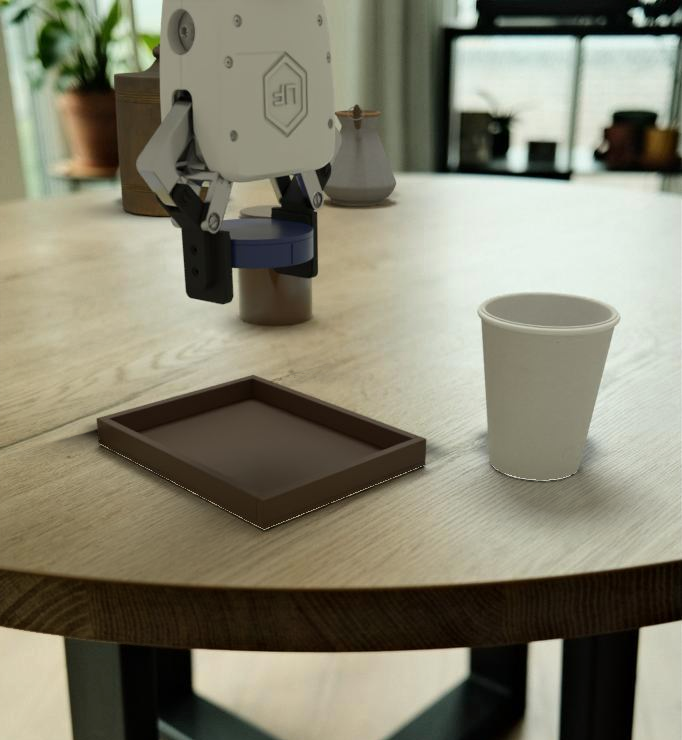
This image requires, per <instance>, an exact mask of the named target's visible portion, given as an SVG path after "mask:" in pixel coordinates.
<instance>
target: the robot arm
mask: <svg viewBox="0 0 682 740" xmlns="http://www.w3.org/2000/svg"><path fill="white" fill-rule="evenodd" d="M330 41H331V40H330V33H329V25H328V19H327V13H326V7H325V1H324V0H162V4H161V18H160V36H159V44H160V102H161V121H162V123H161V124H160V126H159V127H158V129H157V130H156V132H155V133H154V135H153V136H152V138H151V139H150V141H149V142H148V144H147V145H146V146H145V148H144V149H143V151H142V152H141V154H140V155H139V157H138V159H137V161H136V167H137V170H138V172H139V173H140V175H141V176H142V177H143V179H144V180H145V181H146V183H147V184H148V185H149V187H150V188H151V189H152V191H153V192H155V193H156V198H157V201H158V202H159V203H160V205H161V206H162V207H163V208H164V209H165V210H166V211H167V212H168V213H169V215H170V216H169V217H170V222H171V224H172V226H173V228H176V229H180V230H181V243H182V256H183V257H182V258H183V271H184V272H183V273H184V286H185V287H184V288H185V293H186V296H187V297H188V298H189V299H193V300H198V301H201V302H208V303H213V304H217V305H226V304H230V303H231V302H232V301H233V300H234V297H235V295H234V278H233V268H232V254H231V237H230V231H223V230H220V228H221V225H222V222H223V220H224V218H225V214H226V210H227V207H228V204H229V200H230V196H231V192H232V189H233V185H234V183H242V184H243V183H249V182H257V181H262V180H269V181H270V184H271V186H272V189H273V192H274V195H275V198H276V200H277V202H278V205H281V207H272V208H271V212H272V213H271V219H280V220H289V221H296V222H301V223H305V224H308V225H310V226H312V227H313V258H312V259H311V260H309V261H307V262H304V263H301V264H297V265H292V266H285V267H276V268H273V270H274V271H275V272H276V273H278V274H284V275H290V276H296V277H302V278H308V279H310V278H312V279H313V278H316V277H317V276H318V274H319V239H318V230H319V228H318V226H319V225H318V211H320V210H321V209H322V208H323V206H324V203H325V195H324V191H323V189H324V188H325V186H326V184H327V182H328V180H329V178H330V175H331V165H333V162H334V160H335V158H336V155H337V153H338V151H339V149H340V146H341V143H342V135H341V133H340V130H339V129H338V127H337V126H336V115H335V112H336V110H335V95H334V94H335V92H334V90H335V89H334V76H333V64H332V52H331V42H330ZM180 175H181V176H180ZM291 176H292V178H291ZM180 177H181V179H180ZM201 186H204V187H209V188H208V192H207V195H206V199H205V202H203V201H202V200H201V199H200V197H199V195H200V191H201V188H202V187H201Z"/></svg>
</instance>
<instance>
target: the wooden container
mask: <svg viewBox="0 0 682 740" xmlns="http://www.w3.org/2000/svg"><path fill="white" fill-rule="evenodd" d="M151 51H152V56H153V57H154V58H155V59H154V61H153V63H152V64H151V65H150V66H149V67H147V68H146V69H145V70H142V71H135V72H118V73H114V74H113V89H114V96H115V98H114V99H115V113H116V114H115V115H116V116H115V117H116V133H117V150H118V151H117V152H118V162H119V163H118V166H119V176H120V177H119V179H120V185H121V188H120V191H121V200H122V208H123V210H124V211H126V212H128V213H131V214H136V215H141V216H150V217H171V216H170V215H169V213H168V212H167V211H166V210H165V209H164V208H163V207H162V206H161V205H160V203H159V202H158V201H157V198H156V193H155V192H153V191H152V189H151V188H150V187H149V185H148V184H147V183H146V181H145V180H144V179H143V177H142V176H141V175H140V173H139V172H138V170H137V167H136V161H137V159H138V157H139V155H140V154H141V152H142V151H143V149H144V148H145V146H146V145H147V144H148V142H149V141H150V139H151V138H152V136H153V135H154V133H155V132H156V130H157V129H158V127H159V126H160V124H161V123H162V121H161V102H160V43H158V44H157V45H155V46H154V47H153V48H152V50H151ZM180 176H181V175H180ZM180 179H181V177H180ZM201 187H202V188H201V191H200V195H199V197H200V199H201V200H202V201H203V202H205V199H206V195H207V192H208V188H209V187H204V186H201Z"/></svg>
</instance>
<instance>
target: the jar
mask: <svg viewBox="0 0 682 740" xmlns="http://www.w3.org/2000/svg"><path fill="white" fill-rule="evenodd" d="M272 207H281V205H280V204H265V205H255V206H249V207H245V208H242V209H240V210H239V216H238V218H237V219H271V213H272V212H271V208H272ZM236 269H237V270H236V271H237V291H238V314H239V315H238V316H239V317H238V318H239V319H240V321H242V322H244V323H246V324H249V325H254V326H261V327H288V326H295V325H300V324H304V323H307V322H308V321H311V320H312V318H313V278H310V279H308V278H302V277H296V276H290V275H284V274H278V273H276V272H275V271H274V270H273V268H260V269H242V268H236Z"/></svg>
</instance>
